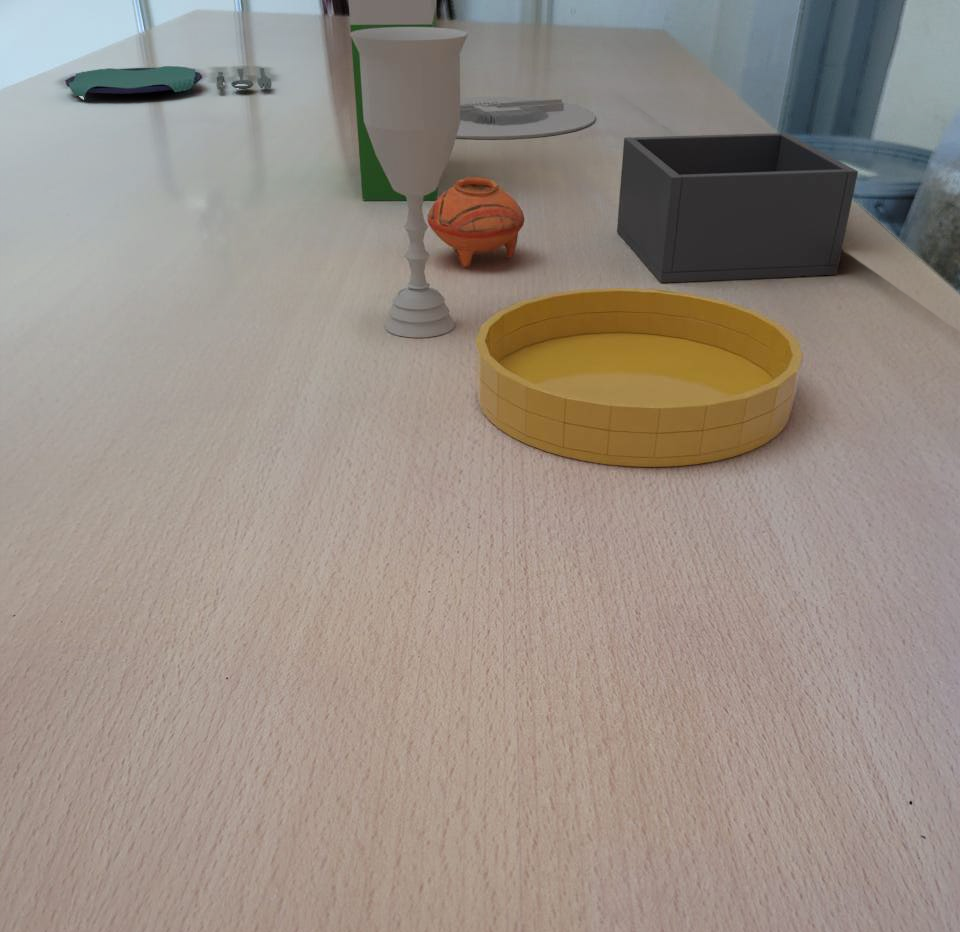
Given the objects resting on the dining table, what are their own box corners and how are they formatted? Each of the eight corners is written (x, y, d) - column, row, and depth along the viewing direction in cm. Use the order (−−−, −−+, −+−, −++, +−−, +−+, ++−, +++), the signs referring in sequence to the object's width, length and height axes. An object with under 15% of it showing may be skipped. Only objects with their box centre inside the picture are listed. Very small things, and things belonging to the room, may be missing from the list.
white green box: (375, 160, 114) (359, -102, 99) (440, 160, 114) (433, -103, 99) (362, 200, 100) (341, -99, 85) (436, 200, 100) (428, -99, 85)
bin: (771, 225, 92) (786, 132, 87) (836, 275, 81) (858, 171, 76) (616, 232, 91) (624, 137, 86) (660, 283, 79) (671, 177, 74)
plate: (549, 94, 148) (549, 85, 147) (630, 130, 127) (631, 119, 126) (365, 106, 141) (364, 96, 140) (418, 145, 120) (417, 134, 119)
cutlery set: (75, 84, 157) (71, 67, 155) (268, 77, 162) (266, 61, 160) (60, 106, 141) (55, 87, 140) (274, 98, 146) (272, 80, 145)
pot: (509, 236, 88) (517, 159, 83) (527, 285, 83) (536, 207, 78) (419, 238, 87) (422, 160, 82) (432, 287, 82) (435, 208, 77)
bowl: (729, 332, 70) (737, 282, 68) (843, 455, 55) (858, 396, 53) (459, 345, 68) (459, 294, 66) (501, 478, 53) (502, 417, 51)
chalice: (352, 334, 70) (329, 37, 59) (392, 304, 75) (377, 25, 64) (449, 347, 68) (443, 42, 57) (483, 315, 73) (484, 29, 62)
